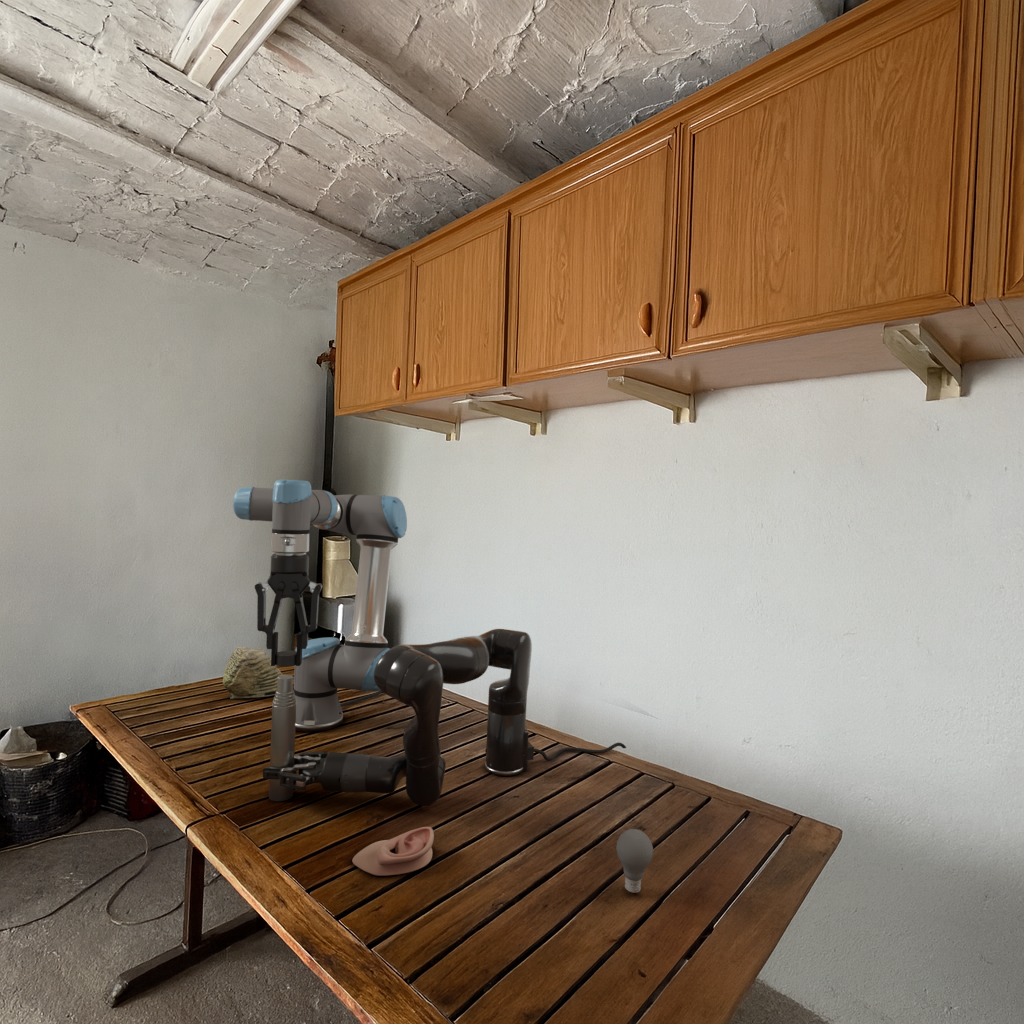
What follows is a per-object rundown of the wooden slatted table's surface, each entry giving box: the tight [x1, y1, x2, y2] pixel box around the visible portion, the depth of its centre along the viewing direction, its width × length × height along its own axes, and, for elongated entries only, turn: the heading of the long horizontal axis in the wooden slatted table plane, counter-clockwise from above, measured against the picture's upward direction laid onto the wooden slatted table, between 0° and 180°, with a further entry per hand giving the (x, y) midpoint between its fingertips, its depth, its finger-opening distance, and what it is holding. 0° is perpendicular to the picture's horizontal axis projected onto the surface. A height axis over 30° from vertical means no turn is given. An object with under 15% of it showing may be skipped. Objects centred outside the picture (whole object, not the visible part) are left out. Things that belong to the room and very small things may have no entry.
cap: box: [276, 650, 297, 668], centre depth 133 cm, size 4×4×2 cm
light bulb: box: [615, 828, 654, 894], centre depth 106 cm, size 6×6×10 cm
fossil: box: [222, 646, 283, 699], centre depth 198 cm, size 9×18×15 cm, turn 132°
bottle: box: [268, 673, 296, 802], centre depth 133 cm, size 5×5×25 cm
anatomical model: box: [351, 826, 435, 877], centre depth 112 cm, size 13×4×12 cm
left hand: (286, 663), depth 133 cm, fingers closed on cap, 4 cm apart
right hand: (269, 767), depth 133 cm, fingers closed on bottle, 5 cm apart
